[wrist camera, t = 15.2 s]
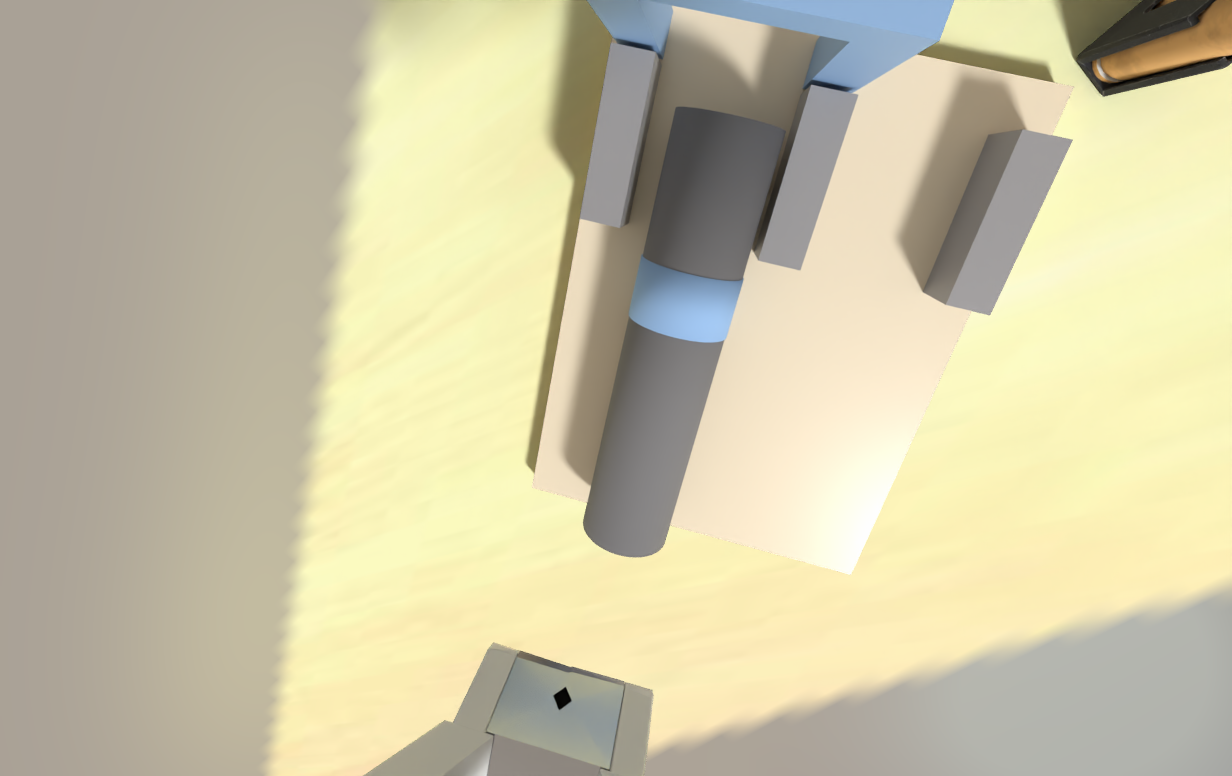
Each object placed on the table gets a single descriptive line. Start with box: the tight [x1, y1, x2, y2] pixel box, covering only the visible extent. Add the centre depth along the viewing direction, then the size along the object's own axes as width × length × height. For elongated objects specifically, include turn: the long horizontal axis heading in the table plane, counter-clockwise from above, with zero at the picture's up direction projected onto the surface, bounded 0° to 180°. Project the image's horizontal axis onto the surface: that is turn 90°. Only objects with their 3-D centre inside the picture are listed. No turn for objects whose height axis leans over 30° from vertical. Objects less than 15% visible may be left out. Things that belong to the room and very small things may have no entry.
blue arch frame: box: [587, 0, 954, 93], centre depth 17 cm, size 2×9×10 cm, turn 78°
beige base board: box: [532, 6, 1074, 575], centre depth 24 cm, size 22×17×4 cm
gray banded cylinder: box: [583, 107, 786, 557], centre depth 24 cm, size 18×4×4 cm, turn 168°
